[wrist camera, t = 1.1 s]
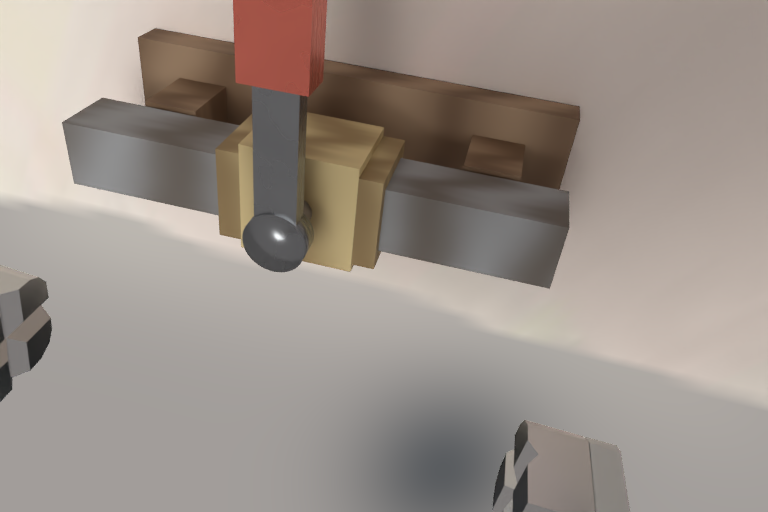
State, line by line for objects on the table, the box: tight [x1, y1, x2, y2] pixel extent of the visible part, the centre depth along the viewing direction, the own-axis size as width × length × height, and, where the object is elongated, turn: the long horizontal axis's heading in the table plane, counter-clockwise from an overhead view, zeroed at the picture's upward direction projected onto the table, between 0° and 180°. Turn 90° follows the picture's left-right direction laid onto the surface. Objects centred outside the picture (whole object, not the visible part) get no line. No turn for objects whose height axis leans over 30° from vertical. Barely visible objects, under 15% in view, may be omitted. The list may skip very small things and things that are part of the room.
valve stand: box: [62, 29, 580, 289], centre depth 36 cm, size 26×8×12 cm, turn 84°
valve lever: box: [233, 0, 327, 272], centre depth 27 cm, size 15×3×2 cm, turn 174°
